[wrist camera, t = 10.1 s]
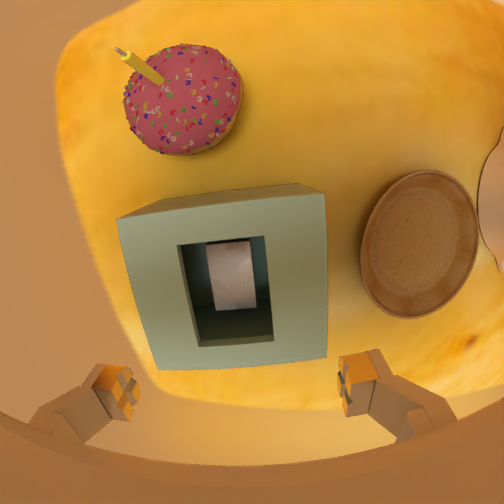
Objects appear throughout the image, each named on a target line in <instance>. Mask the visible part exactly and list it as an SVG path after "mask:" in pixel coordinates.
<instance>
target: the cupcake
mask: <svg viewBox="0 0 504 504" xmlns="http://www.w3.org/2000/svg"><path fill="white" fill-rule="evenodd" d="M114 50H115V51H116V52H118V53H119V54H121V60H122V61H124V62H125V63H126V64H128V65H129V66H131V67H132V68H134V69H135V70H136V72H133V73H132V76H131V77H130V78H131V79H129V81H128V85H125V87H124V88H125V89H127V90H126V91H125V92H124V95H125V98H124V99H123V104H124V108H125V112H126V115H127V117H126V119H127V120H128V121H129V124H130V126H131V127H130V130H131V131H133V133H134V134H135V135H136V136H137V137H138V138H139V139H140V140H141V141H142V143H143V144H144V143H145V145H146V146H147V147H148V148H150V149H152V150H154V151H157V152H160V153H161V154H167V155H194V154H198V153H200V152H202V151H204V150H207V149H209V148H211V147H213V146H215V145H217V144H218V143H220V142H221V141H222V140H223V139H224V138H225V137H226V136H227V135H228V134H229V132H230V131H231V129H232V127H233V125H234V124H235V121H236V119H237V116H238V113H239V109H240V106H241V102H242V100H243V96H244V90H243V82H242V78H241V76H240V74H239V73H238V71H237V70H236V69H235V67H234V66H233V65H232V64H231V60H229V59H226V58H225V57H224V56H223V55H222V54H221V53H220V52H219V51H218V49H213V48H210V47H206V46H199V45H189V44H182V43H181V44H180V45H177V46H172V47H169V48H165V49H163V50H162V51H159V52H157V53H156V54H155V55H151V56H152V57H151V56H149V57H150V58H146V61H145V62H144V61H143V60H142V59H140V58H139V57H138V56H136V55H135V54H134V53H133V52H131V51H130V50H126V51H122V50H121V49H119V48H117V47H116V48H115V49H114ZM228 60H229V61H228ZM126 87H127V88H126Z"/></svg>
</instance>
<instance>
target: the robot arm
mask: <svg viewBox="0 0 504 504" xmlns="http://www.w3.org/2000/svg"><path fill="white" fill-rule="evenodd" d="M478 214H479V224H480V229H481V233H482V236H483V239H484V242H485V244H486V246H487V247H488V249H489V250H490V251H491V252H492V253H493V254H494V256H495V258H496V261H497V265H498V269H499V271H500V272H501V273H504V128H503V131H502V134H501V138H500V142H499V143H498V145H497V146H496V147H495V149H494V150H493V151H492V152H491V154H490V155H489V157H488V159H487V161H486V163H485V166H484V169H483V172H482V176H481V181H480V187H479V196H478ZM338 365H339V368H340V371H339V372H338V376H337V383H338V391H339V395H340V397H342V398H343V404H342V405H343V408H344V412H345V415H346V417H350V416H357V415H363V414H367V413H368V415H369V416H371V417H372V418H373V419H374V420H376V421H377V422H378V423H379V424H381V425H382V426H383V427H384V428H386V429H387V430H388V431H389V432H391V433H392V434H393V435H394V436H396V437H397V439H396V442H395V443H394V444H390V445H387V446H383V447H379V448H375V449H371V450H367V451H363V452H359V453H354V454H349V455H344V456H338V457H333V458H327V459H320V460H313V461H305V462H297V463H286V464H273V465H251V466H222V465H200V464H186V463H177V462H169V461H161V460H154V459H147V458H142V457H136V456H130V455H126V454H121V453H116V452H111V451H108V450H103V449H99V448H96V447H92V446H88V445H85V444H84V443H85V442H86V441H87V440H89V439H90V438H91V437H92V436H94V435H95V434H96V433H97V432H98V431H99V430H101V429H102V428H103V427H104V426H106V425H107V424H108V423H109V422H110V421H111V420H112V419H113V420H120V421H128V422H129V420H130V418H131V416H132V414H133V411H134V409H133V407H132V406H133V405H135V404H136V403H137V402H138V400H139V396H140V389H139V385H138V383H137V382H136V381H135V380H134V379H133V378H132V376H133V372H132V370H131V368H130V367H128V366H119V365H110V364H108V365H107V364H96V366H95V367H94V368H93V370H92V371H91V372H90V374H89V375H88V377H87V378H86V380H85V381H84V383H83V384H82V385H81V387H80V386H78V387H76V388H74V389H72V390H70V391H68V392H67V393H65V394H63V395H61V396H59V397H57V398H56V399H54V400H52V401H50V402H48V403H46V404H44V405H43V406H41V407H39V409H38V410H37V411H36V413H35V414H34V416H33V417H32V418H31V420H30V421H29V423H28V424H26V423H24V422H22V421H19V420H17V419H15V418H13V417H11V416H9V415H7V414H5V413H2V412H1V411H0V504H504V397H503V398H501V399H499V400H497V401H495V402H494V403H492V404H490V405H488V406H486V407H484V408H482V409H481V410H478V411H476V412H475V413H472V414H470V415H468V416H466V417H464V418H462V419H459V420H457V418H456V416H455V415H454V413H453V411H452V410H451V408H450V406H449V404H448V403H447V401H446V400H445V398H443V397H441V396H439V395H437V394H435V393H432V392H430V391H428V390H426V389H424V388H422V387H420V386H418V385H416V384H414V383H412V382H410V381H408V380H406V379H404V378H402V377H400V376H398V375H393V374H392V372H391V370H390V368H389V366H388V364H387V363H386V361H385V359H384V357H383V355H382V354H381V352H380V350H378V349H375V350H370V351H365V352H362V353H356V354H351V355H345V356H340V357H339V363H338Z"/></svg>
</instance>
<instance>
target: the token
mask: <svg viewBox="0 0 504 504" xmlns="http://www.w3.org/2000/svg"><path fill="white" fill-rule="evenodd" d="M206 252H207V259H208V266H209V272H210V278H211V284H212V291H213V297H214V303H215V308H216V311H219V310H232V309H245V308H256V307H257V305H256V284H255V272H254V262H253V253H252V243H251V237H245V238H236V239H227V240H218V241H209V242H207V244H206Z"/></svg>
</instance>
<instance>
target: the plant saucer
mask: <svg viewBox="0 0 504 504" xmlns="http://www.w3.org/2000/svg"><path fill="white" fill-rule="evenodd" d="M478 244H479V222H478V216H477V212H476V208H475V205H474V203H473V201H472V199H471V197H470V195H469V193H468V192H467V190H466V189H465V188H464V186H463V185H462V184H461V183H459V181H457V180H456V179H455V178H453V177H452V176H450V175H448V174H446V173H443V172H440V171H435V170H423V171H418V172H414V173H412V174H409V175H407V176H405V177H403V178H402V179H400V180H399V181H397V182H396V183H395V184H393V185H392V186H391V187H390V188H389V189H388V190H387V191H386V192H385V194H384V195H383V196H382V197H381V199H380V200H379V201H378V203H377V204H376V206H375V208H374V209H373V211H372V213H371V215H370V218H369V220H368V222H367V225H366V228H365V231H364V235H363V239H362V244H361V252H360V266H361V274H362V279H363V283H364V286H365V289H366V291H367V293H368V295H369V296H370V298H371V299H372V301H373V302H374V303H375V304H376V305H377V307H378V308H380V309H381V310H382V311H384V312H385V313H387V314H388V315H391V316H394V317H397V318H402V319H414V318H420V317H423V316H426V315H429V314H431V313H433V312H435V311H437V310H439V309H440V308H442V307H443V306H444V305H446V304H447V303H448V302H449V301H450V300H451V299H452V298H453V297H454V296H455V295H456V294H457V293H458V292H459V290H460V289H461V288H462V286H463V285H464V283H465V282H466V280H467V278H468V277H469V275H470V272H471V270H472V268H473V265H474V262H475V259H476V255H477V250H478Z"/></svg>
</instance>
